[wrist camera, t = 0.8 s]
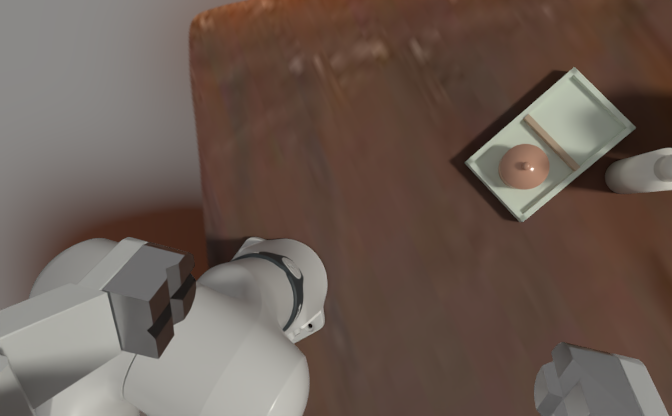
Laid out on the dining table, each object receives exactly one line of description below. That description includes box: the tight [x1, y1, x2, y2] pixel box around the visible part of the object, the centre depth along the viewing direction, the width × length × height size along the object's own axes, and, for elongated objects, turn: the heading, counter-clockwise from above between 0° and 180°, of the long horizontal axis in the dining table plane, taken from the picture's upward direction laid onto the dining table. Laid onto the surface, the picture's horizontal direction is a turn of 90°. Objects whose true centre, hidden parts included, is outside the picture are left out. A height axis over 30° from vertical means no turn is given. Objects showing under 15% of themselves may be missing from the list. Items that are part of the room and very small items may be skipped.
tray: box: [465, 67, 636, 222], centre depth 63 cm, size 20×12×2 cm, turn 131°
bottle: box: [605, 148, 672, 194], centre depth 55 cm, size 5×5×14 cm
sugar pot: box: [498, 144, 550, 190], centre depth 62 cm, size 6×6×6 cm
